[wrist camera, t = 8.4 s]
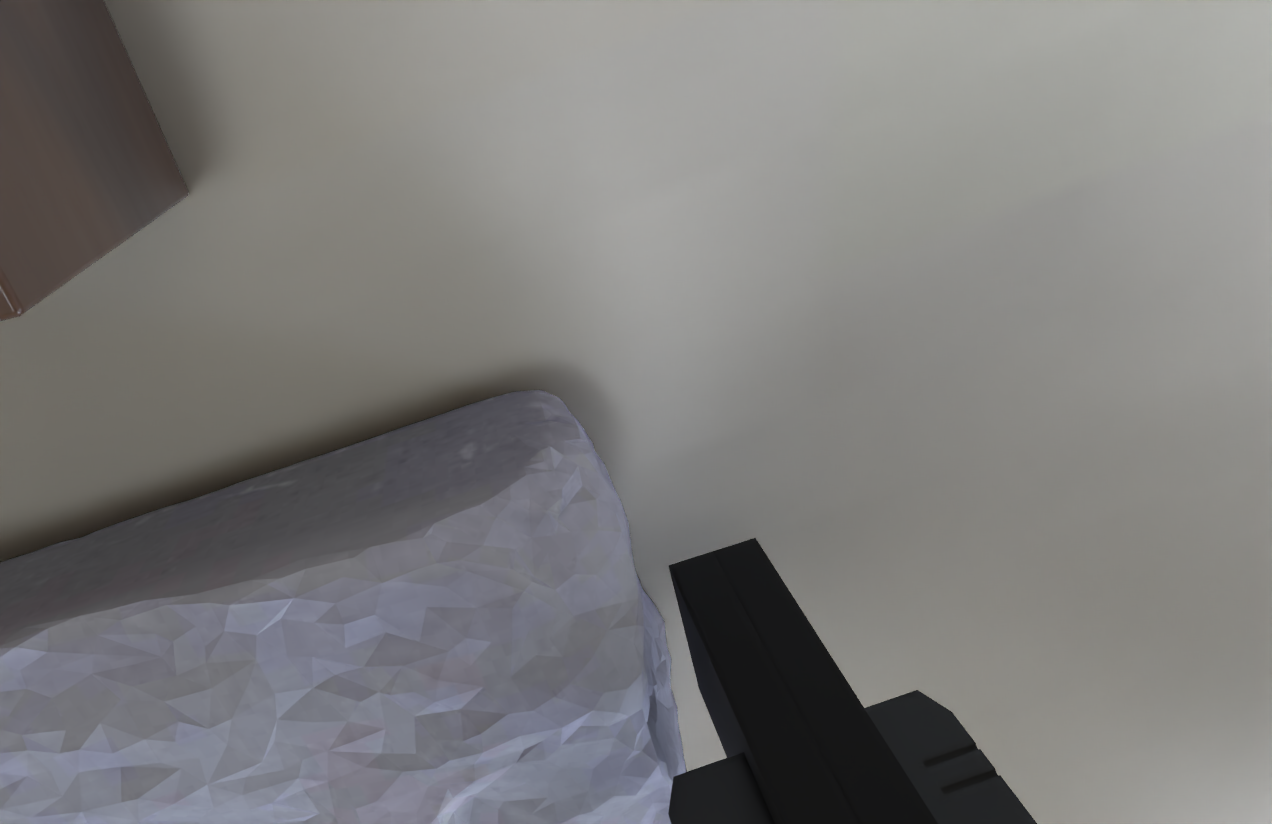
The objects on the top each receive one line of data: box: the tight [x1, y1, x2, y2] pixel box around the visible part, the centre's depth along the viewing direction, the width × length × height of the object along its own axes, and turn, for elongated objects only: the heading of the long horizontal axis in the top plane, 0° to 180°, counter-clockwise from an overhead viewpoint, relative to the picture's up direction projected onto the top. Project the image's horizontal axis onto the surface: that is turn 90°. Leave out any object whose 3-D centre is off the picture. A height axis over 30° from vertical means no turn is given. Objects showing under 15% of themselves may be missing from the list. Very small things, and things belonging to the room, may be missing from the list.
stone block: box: [0, 390, 687, 824], centre depth 14 cm, size 12×5×10 cm
